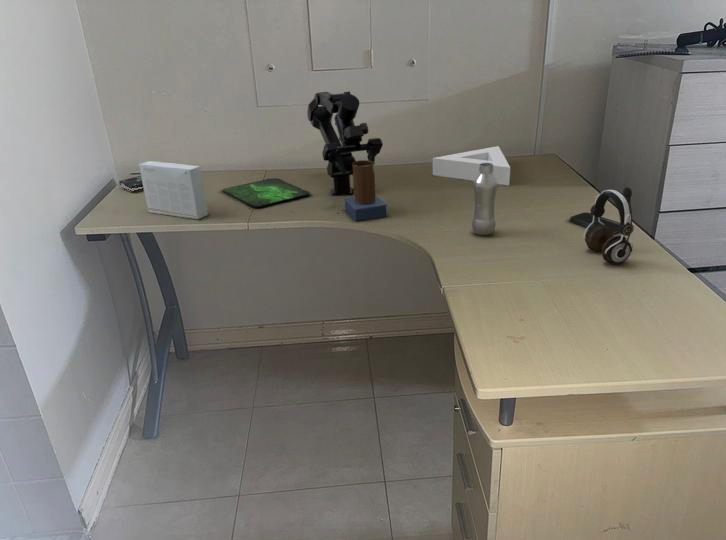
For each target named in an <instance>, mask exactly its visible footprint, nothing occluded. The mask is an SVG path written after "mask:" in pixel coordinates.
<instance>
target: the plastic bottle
mask: <svg viewBox="0 0 726 540" xmlns="http://www.w3.org/2000/svg"><path fill="white" fill-rule="evenodd" d="M479 172H480V173H479V175H478V176H477V177H476V178H475V180H474V181H473V182H472V184H473V194H474V211H473V216H472V221H471V229H472V231H473V232H474V234H476V235H480V236H488V235H492V234H493V233H494V232H495V230H496V226H497V225H496V218H495V200H496V194H497V189H498V184H497V180H496V178H495V177H494V175H493V174H492V172H493V164H492V163H481V164H480V167H479Z"/></svg>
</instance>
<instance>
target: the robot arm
mask: <svg viewBox="0 0 726 540" xmlns="http://www.w3.org/2000/svg"><path fill="white" fill-rule="evenodd" d="M359 107H360V99H358V97H357V96H355V95H354V94H351V92H350V91H343V92H342V93H330V91H329V92H328V91H321V92H320V91H319V92H316V93H314V97H313V99H311V101H310V102H309V103H308V105H307V112H306V114H307V120H308V122H309V123H310V124H311V126H312V127H313V128H315V129H317V130H319V132H320V134H321V136H322V139H323V141H324V143H325V144H324V146H323V149H322V153H321V155H322V159H323V161H325V162H327V161H328V163H327V166H326V171H327V175H328V176H329V177H330V178H332V179H333V189H332V195H333V196H342V195H343V196H344V195H352V194H353V188H352V187H351V176H353V166H352V164H353V163H354V162H356V161H357V160H356V158H355V157H354V156H353V153H356V152H362V151H363V152H364V151H365V152H366V154H367V156H366V157H367V161H373V162H374V165H376V164H375V161H376V157H377V155H379V154H380V152H381V150H382V147H383V145H384V144H383V143H384V142H383V141H382V139H381V137H373V138H372V137H371V138H368V140H367V142H366V143H362V144H361V142H363V137H365V135H367V134H368V133H369V127H368V124H367V122H362V123H360V124H358V125H355V122H354V119H356V116H357V113H358V110H359ZM334 114H335V115H334ZM333 115H334V125H335V126H336V129H337V132H336V130H335V127H334V126H333V124H332V123H333V122H332V121H333ZM337 133H338V134H337ZM338 136H339V137H338Z"/></svg>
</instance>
